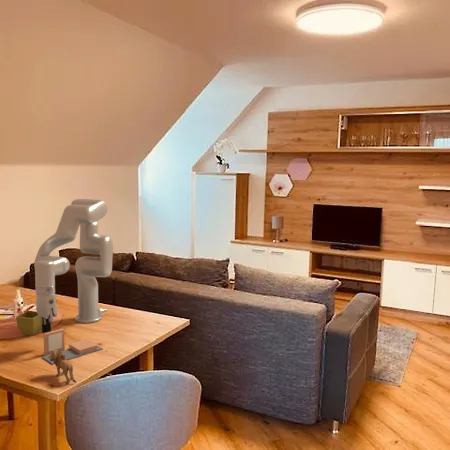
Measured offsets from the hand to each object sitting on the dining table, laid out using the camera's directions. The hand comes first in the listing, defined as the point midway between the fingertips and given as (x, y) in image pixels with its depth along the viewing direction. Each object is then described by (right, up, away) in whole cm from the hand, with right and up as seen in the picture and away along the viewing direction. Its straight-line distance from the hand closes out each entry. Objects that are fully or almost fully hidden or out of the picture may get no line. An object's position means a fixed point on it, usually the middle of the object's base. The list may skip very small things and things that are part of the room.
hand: (46, 332), depth 194 cm
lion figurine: (+16, -11, -25) cm, 31 cm away
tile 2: (+12, -5, +3) cm, 14 cm away
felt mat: (+12, -8, -4) cm, 15 cm away
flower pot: (-13, -4, +16) cm, 22 cm away
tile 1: (+5, -7, -4) cm, 9 cm away
